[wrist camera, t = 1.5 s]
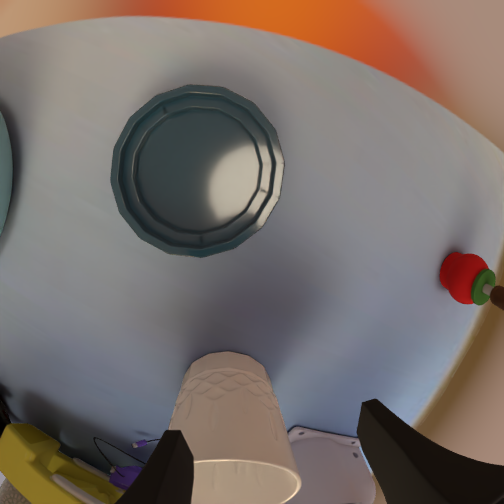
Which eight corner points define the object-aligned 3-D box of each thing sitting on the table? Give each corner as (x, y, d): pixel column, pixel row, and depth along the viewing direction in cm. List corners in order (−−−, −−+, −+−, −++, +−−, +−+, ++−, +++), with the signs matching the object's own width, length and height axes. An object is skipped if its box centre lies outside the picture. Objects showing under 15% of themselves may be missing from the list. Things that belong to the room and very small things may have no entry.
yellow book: (25, 449, 21) (38, 423, 24) (162, 524, 23) (175, 499, 26) (-26, 461, 8) (-10, 422, 12) (192, 577, 11) (210, 542, 14)
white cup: (270, 416, 22) (287, 512, 12) (179, 412, 21) (166, 509, 12) (283, 345, 20) (317, 454, 11) (174, 339, 19) (143, 450, 10)
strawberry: (472, 260, 20) (562, 307, 9) (451, 299, 21) (534, 359, 10) (451, 238, 19) (555, 283, 9) (428, 280, 20) (524, 345, 9)
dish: (305, 142, 17) (315, 139, 15) (228, 274, 18) (228, 285, 16) (171, 71, 15) (165, 60, 13) (100, 204, 17) (86, 208, 15)
